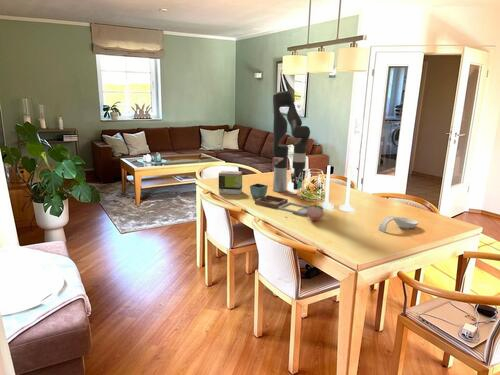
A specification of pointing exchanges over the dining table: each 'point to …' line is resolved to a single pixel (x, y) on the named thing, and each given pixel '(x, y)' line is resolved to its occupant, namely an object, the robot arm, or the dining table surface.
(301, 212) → the tray
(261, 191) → the flower pot
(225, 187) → the retro computer monitor
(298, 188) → the ball
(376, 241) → the dining table surface
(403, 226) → the spoon rest
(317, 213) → the decorative fruit
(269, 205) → the walnut box
